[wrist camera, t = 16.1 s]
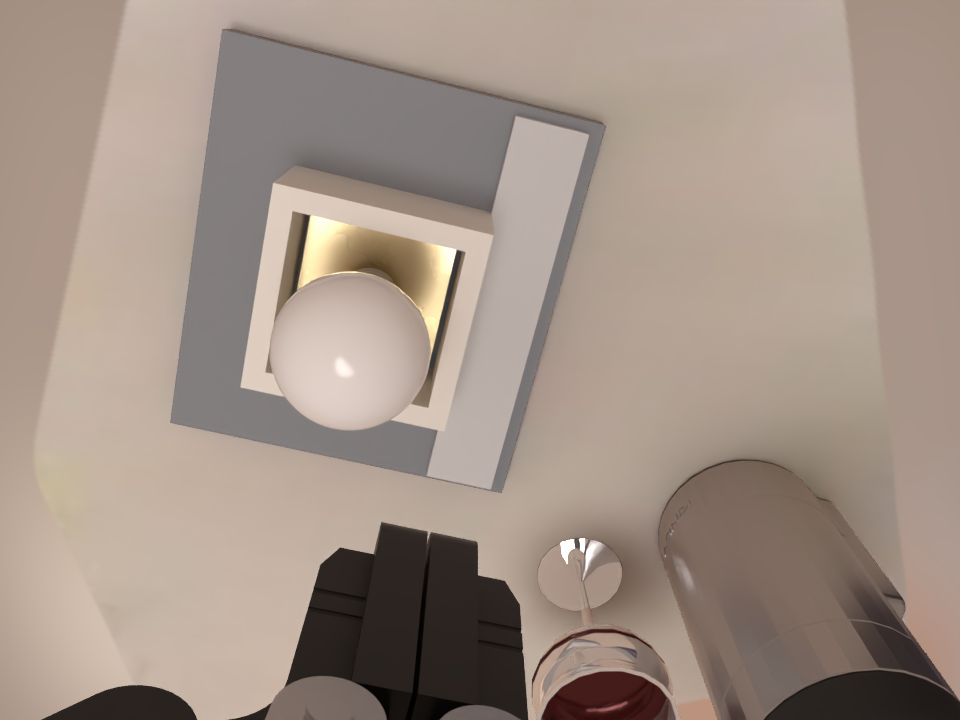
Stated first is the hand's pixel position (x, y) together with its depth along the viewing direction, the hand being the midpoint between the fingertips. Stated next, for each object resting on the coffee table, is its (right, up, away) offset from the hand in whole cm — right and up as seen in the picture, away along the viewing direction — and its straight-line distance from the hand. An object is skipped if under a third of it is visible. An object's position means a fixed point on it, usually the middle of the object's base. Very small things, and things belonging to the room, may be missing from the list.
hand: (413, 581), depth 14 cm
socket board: (-4, +8, +32) cm, 34 cm away
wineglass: (+7, -9, +39) cm, 41 cm away
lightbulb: (-4, +7, +30) cm, 31 cm away
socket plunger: (-4, +7, +31) cm, 32 cm away
